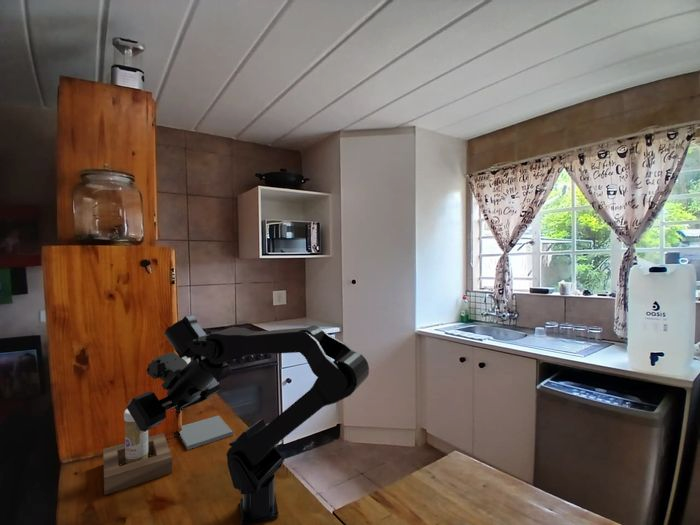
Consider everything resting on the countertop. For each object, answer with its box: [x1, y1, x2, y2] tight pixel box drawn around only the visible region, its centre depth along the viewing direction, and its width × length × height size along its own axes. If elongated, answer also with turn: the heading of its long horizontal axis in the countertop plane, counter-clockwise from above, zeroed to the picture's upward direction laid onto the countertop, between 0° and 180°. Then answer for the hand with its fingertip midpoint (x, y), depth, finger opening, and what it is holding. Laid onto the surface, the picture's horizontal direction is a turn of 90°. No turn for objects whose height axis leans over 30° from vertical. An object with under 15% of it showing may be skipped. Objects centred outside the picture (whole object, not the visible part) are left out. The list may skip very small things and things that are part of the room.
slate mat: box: [179, 415, 234, 451], centre depth 92 cm, size 11×11×1 cm
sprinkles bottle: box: [123, 408, 149, 465], centre depth 77 cm, size 5×5×14 cm
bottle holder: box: [102, 432, 173, 496], centre depth 77 cm, size 12×12×4 cm
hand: (157, 418), depth 74 cm, fingers open, 9 cm apart
